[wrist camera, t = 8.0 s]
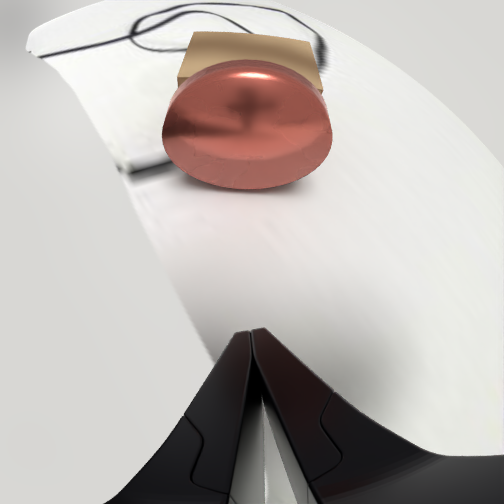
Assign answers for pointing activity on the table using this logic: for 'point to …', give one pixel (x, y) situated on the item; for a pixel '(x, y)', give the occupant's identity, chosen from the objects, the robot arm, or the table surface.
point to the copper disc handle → (247, 125)
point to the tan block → (248, 53)
